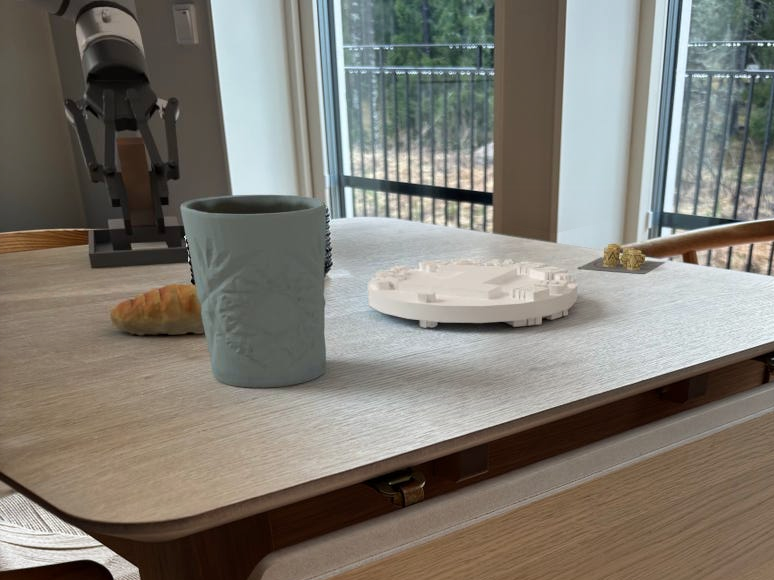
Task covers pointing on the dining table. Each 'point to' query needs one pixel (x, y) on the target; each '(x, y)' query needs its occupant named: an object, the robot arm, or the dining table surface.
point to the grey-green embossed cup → (260, 286)
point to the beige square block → (149, 245)
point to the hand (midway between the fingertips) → (144, 226)
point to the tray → (131, 252)
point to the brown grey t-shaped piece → (139, 201)
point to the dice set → (622, 261)
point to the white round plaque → (474, 292)
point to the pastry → (161, 312)
